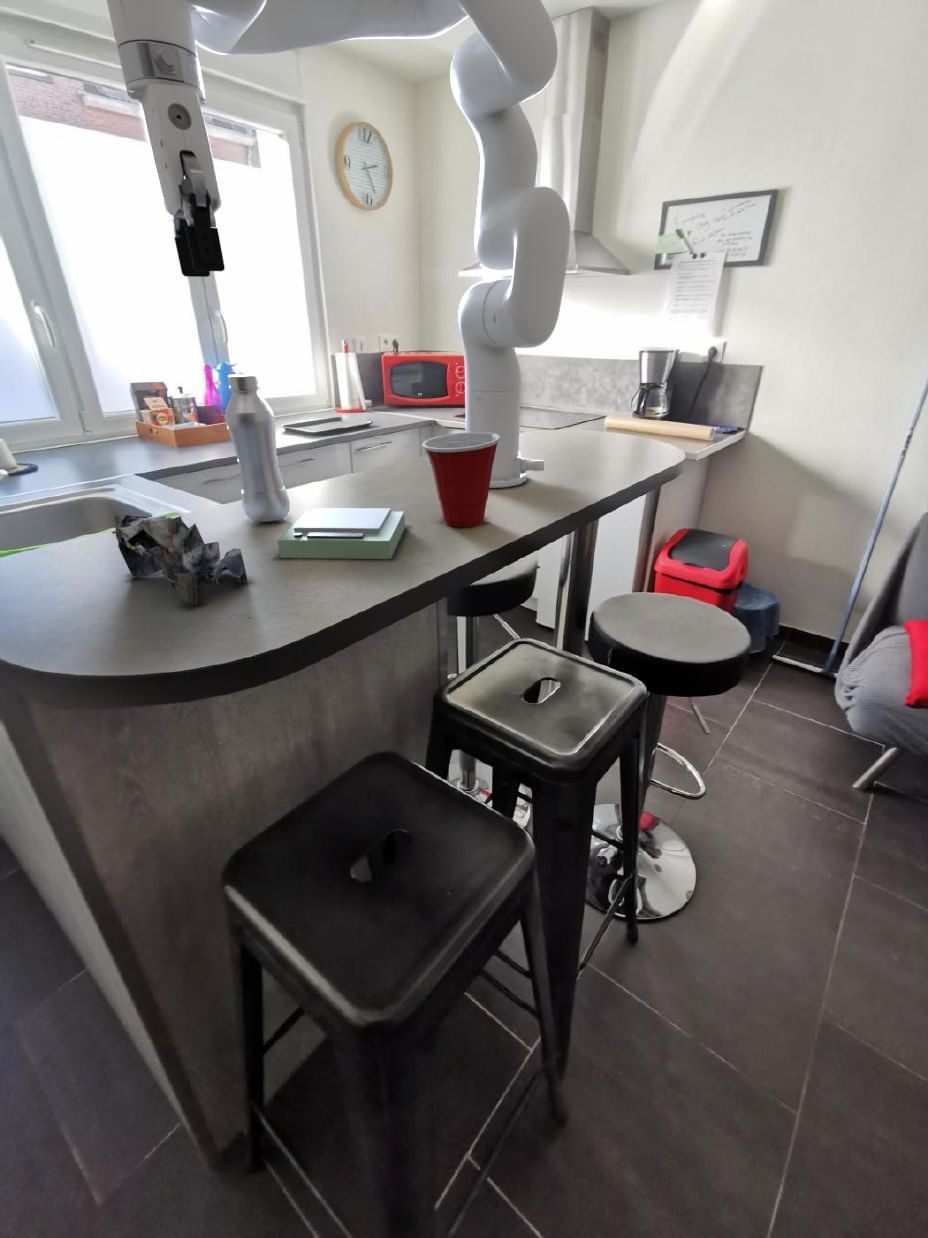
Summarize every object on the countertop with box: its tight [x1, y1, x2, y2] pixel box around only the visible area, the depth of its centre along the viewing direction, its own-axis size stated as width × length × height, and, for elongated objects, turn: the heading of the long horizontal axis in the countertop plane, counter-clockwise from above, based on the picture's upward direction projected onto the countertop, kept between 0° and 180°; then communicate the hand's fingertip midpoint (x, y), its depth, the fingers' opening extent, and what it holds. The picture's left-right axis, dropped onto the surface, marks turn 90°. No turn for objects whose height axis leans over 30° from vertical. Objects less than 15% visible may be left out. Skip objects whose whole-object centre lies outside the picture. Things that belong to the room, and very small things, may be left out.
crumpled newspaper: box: [111, 514, 248, 607], centre depth 63 cm, size 12×11×15 cm
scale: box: [277, 507, 406, 560], centre depth 75 cm, size 14×12×3 cm
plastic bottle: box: [224, 373, 290, 523], centre depth 80 cm, size 6×7×20 cm
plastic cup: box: [421, 431, 500, 528], centre depth 80 cm, size 11×11×12 cm
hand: (202, 273), depth 67 cm, fingers open, 9 cm apart
